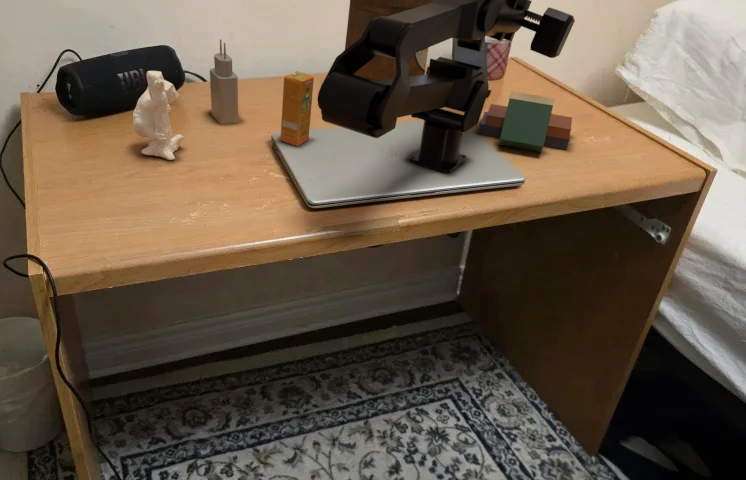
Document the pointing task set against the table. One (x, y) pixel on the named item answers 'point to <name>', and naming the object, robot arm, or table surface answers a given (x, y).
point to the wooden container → (363, 8)
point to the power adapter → (224, 89)
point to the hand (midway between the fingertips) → (525, 17)
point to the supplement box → (296, 108)
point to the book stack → (555, 133)
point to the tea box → (526, 121)
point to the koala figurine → (157, 116)
